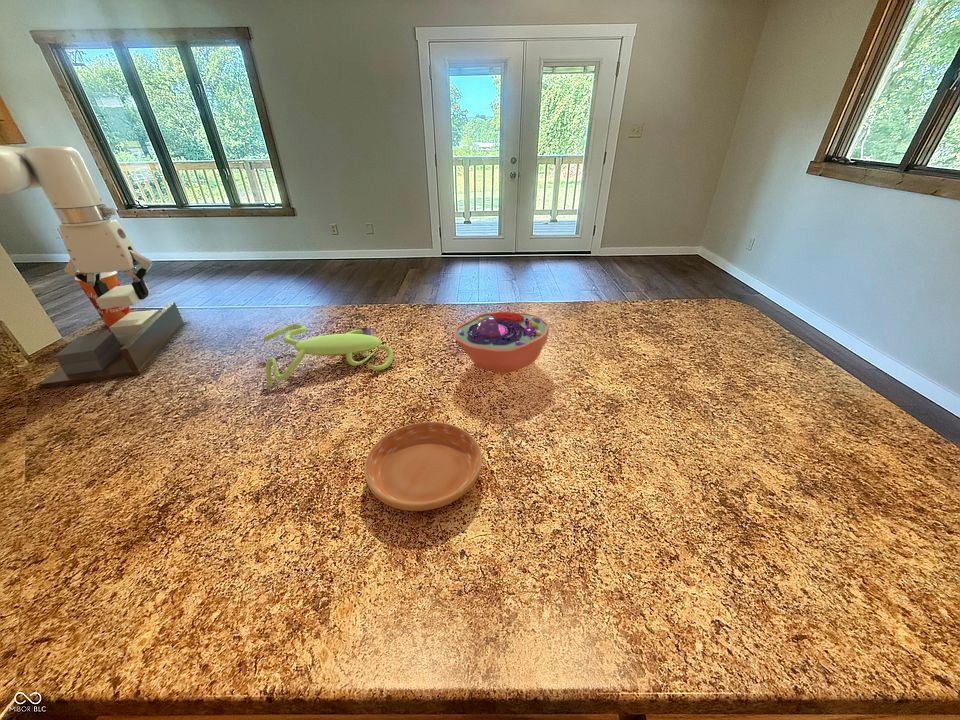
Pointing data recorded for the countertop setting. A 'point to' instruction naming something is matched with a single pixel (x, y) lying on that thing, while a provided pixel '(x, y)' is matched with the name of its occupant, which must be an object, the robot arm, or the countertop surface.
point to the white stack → (131, 324)
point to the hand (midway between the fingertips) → (126, 298)
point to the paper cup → (107, 315)
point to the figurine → (328, 348)
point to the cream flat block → (118, 297)
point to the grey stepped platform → (129, 351)
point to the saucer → (423, 466)
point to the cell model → (502, 340)
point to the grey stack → (89, 353)
